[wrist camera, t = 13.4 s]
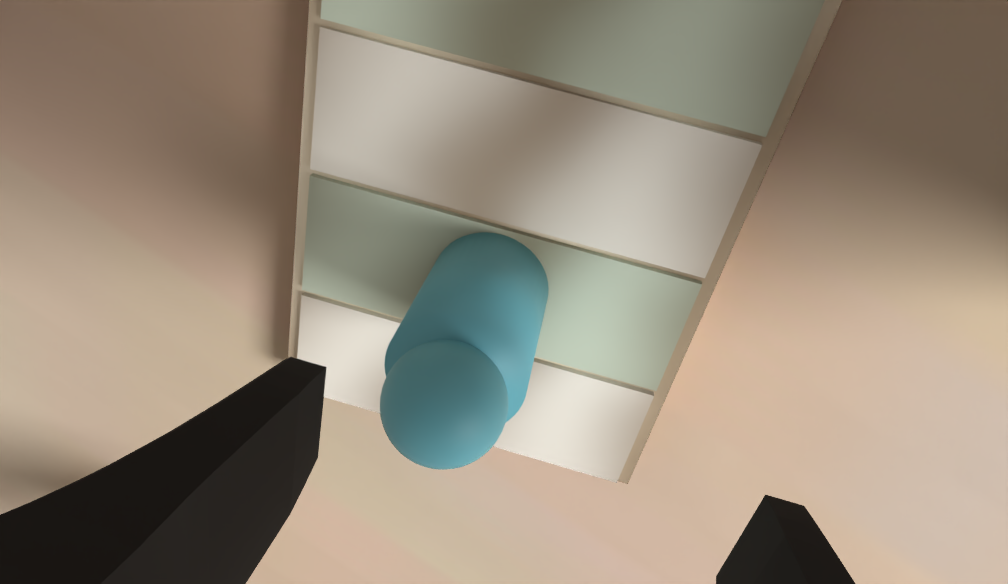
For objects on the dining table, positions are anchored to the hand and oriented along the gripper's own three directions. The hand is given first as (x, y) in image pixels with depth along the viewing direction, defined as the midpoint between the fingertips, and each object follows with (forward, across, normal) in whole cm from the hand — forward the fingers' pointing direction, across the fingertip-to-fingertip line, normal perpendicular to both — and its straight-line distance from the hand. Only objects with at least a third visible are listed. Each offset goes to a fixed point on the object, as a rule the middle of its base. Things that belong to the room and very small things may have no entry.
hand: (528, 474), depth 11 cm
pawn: (+9, +2, +2) cm, 9 cm away
